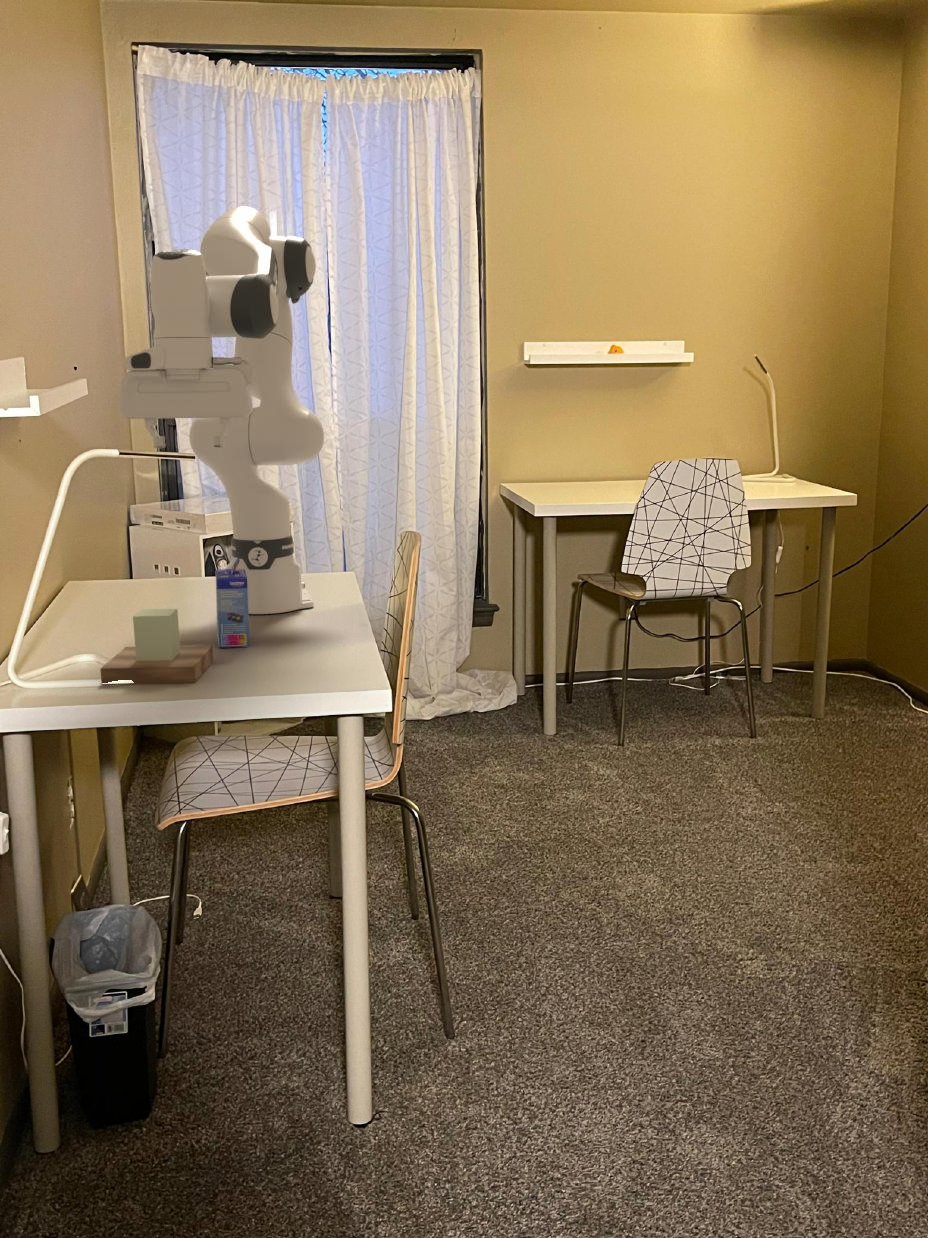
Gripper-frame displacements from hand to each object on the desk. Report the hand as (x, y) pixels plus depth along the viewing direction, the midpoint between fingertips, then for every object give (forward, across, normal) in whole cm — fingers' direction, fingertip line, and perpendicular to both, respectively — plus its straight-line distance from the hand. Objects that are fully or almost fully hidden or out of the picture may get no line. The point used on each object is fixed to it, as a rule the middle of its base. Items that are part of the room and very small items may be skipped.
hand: (189, 447), depth 183 cm
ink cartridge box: (+34, -3, -11) cm, 36 cm away
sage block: (+32, +5, +9) cm, 33 cm away
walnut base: (+34, +5, +9) cm, 36 cm away
